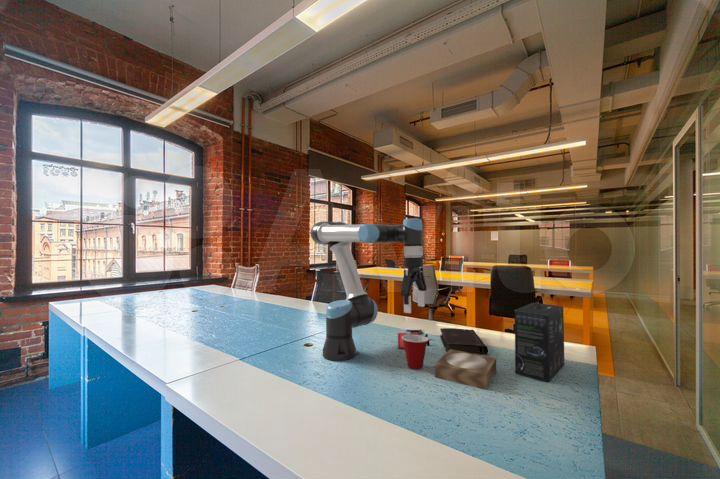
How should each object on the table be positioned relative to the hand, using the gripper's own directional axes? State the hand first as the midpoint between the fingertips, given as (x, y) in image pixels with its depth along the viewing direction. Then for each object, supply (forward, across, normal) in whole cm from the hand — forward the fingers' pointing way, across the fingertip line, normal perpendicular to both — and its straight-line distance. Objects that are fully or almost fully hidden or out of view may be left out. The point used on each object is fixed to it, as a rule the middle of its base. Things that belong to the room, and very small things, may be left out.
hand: (414, 309), depth 125 cm
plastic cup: (+23, 0, 0) cm, 23 cm away
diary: (+24, +36, -8) cm, 44 cm away
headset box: (+24, +24, -42) cm, 54 cm away
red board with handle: (+23, +31, +15) cm, 42 cm away
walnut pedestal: (+23, +4, -19) cm, 30 cm away
